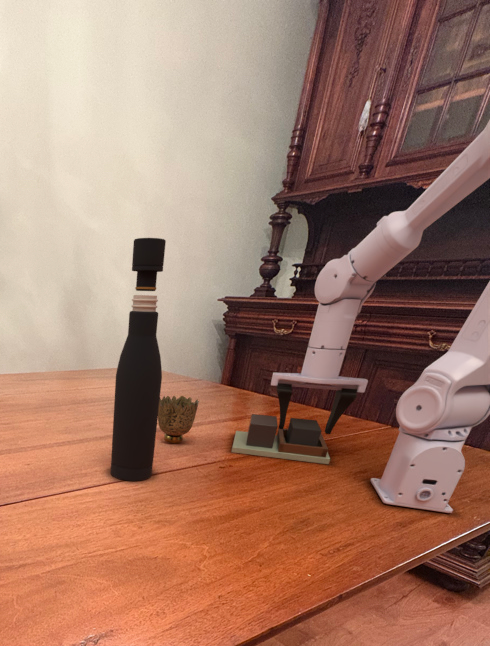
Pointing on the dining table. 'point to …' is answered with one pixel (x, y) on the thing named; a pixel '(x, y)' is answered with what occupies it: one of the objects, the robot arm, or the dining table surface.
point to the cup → (176, 417)
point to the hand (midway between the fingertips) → (303, 430)
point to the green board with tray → (276, 442)
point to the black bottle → (139, 372)
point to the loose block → (303, 432)
